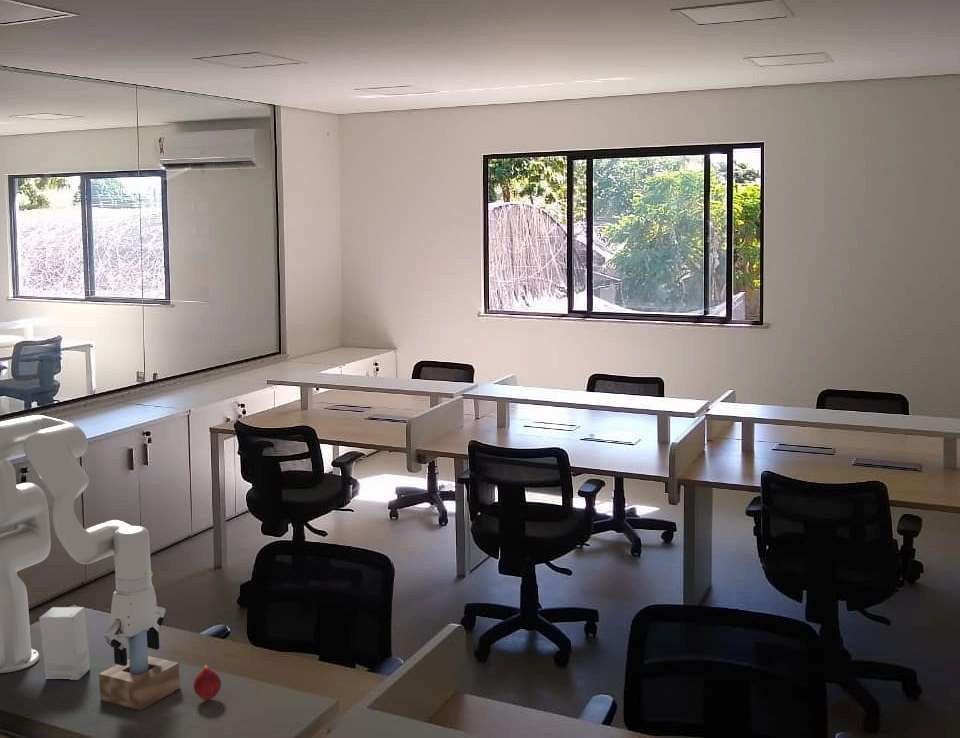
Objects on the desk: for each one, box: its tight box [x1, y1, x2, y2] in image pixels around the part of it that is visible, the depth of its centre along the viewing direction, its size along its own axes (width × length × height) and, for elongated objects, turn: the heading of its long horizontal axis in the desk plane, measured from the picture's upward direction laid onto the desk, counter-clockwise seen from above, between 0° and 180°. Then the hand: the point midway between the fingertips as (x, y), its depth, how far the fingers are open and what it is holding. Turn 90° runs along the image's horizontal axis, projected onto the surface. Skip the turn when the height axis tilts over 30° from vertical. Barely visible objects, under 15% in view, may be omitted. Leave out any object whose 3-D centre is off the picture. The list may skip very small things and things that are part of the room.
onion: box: [193, 665, 222, 702], centre depth 229 cm, size 6×6×8 cm
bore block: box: [98, 655, 181, 711], centre depth 233 cm, size 12×12×6 cm
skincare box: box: [39, 606, 91, 681], centre depth 242 cm, size 8×7×16 cm
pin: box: [127, 629, 149, 675], centre depth 232 cm, size 4×4×14 cm
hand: (137, 656), depth 232 cm, fingers open, 9 cm apart
